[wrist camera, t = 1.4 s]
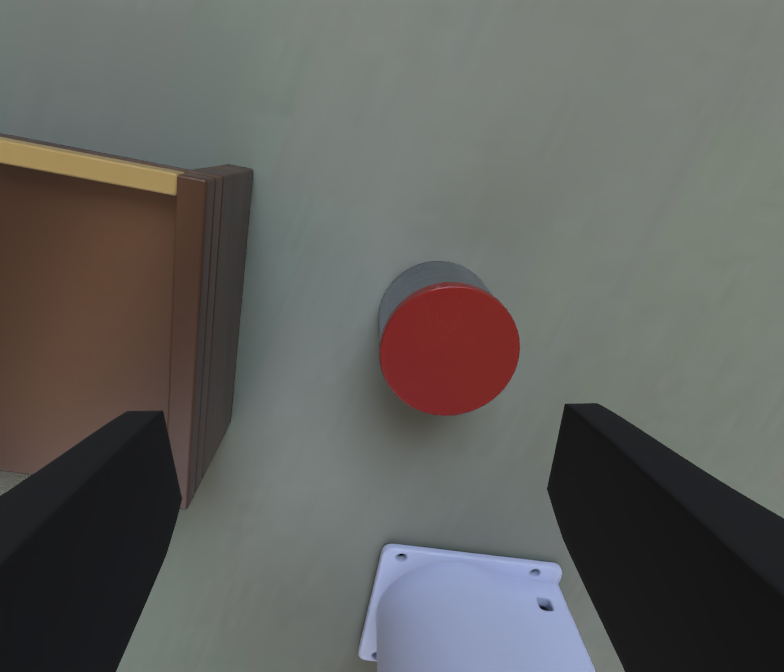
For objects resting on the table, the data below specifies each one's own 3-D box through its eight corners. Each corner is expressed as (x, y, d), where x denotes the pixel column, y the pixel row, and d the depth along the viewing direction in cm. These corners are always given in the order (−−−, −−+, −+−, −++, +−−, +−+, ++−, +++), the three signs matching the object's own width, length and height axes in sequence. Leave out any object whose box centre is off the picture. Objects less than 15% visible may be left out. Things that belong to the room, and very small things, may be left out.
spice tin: (506, 271, 20) (537, 299, 17) (477, 377, 22) (499, 425, 18) (389, 249, 20) (394, 274, 16) (368, 360, 22) (368, 405, 18)
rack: (253, 168, 19) (207, 179, 13) (230, 422, 22) (187, 511, 17) (-128, 94, 17) (-355, 72, 12) (-83, 378, 21) (-239, 459, 16)
